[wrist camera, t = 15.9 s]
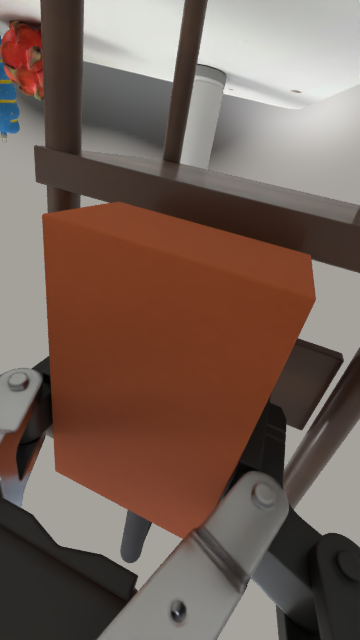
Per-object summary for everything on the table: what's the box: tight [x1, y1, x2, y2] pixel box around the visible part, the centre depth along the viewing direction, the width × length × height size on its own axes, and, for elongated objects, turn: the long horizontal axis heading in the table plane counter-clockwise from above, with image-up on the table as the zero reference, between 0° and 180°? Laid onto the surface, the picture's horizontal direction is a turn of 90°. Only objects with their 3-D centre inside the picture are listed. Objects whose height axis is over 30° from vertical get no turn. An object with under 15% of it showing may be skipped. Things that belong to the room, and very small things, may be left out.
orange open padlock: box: [42, 202, 316, 563], centre depth 13 cm, size 8×6×19 cm
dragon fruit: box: [0, 21, 44, 100], centre depth 40 cm, size 8×8×12 cm
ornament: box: [0, 36, 20, 138], centre depth 49 cm, size 5×5×15 cm
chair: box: [34, 0, 360, 510], centre depth 15 cm, size 12×15×27 cm
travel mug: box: [180, 65, 226, 169], centre depth 46 cm, size 6×7×20 cm
